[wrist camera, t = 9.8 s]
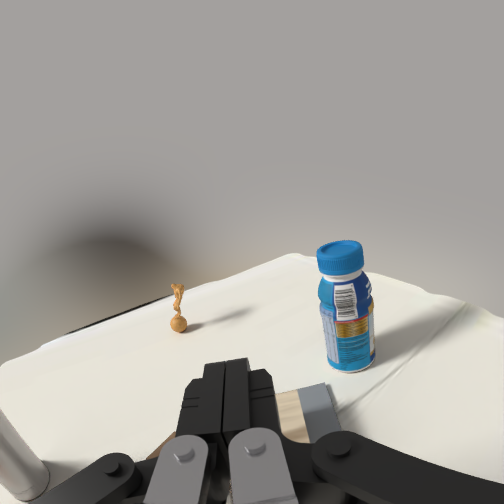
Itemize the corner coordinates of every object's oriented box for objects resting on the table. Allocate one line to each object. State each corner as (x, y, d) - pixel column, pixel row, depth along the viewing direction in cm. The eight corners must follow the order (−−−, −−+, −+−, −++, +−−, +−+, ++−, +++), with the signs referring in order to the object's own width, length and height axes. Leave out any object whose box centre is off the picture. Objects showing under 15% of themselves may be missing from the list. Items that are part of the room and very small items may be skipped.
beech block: (317, 473, 25) (297, 389, 39) (267, 482, 26) (259, 397, 39) (320, 493, 27) (302, 413, 40) (276, 502, 27) (267, 421, 40)
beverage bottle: (317, 364, 51) (297, 254, 46) (348, 339, 56) (334, 235, 50) (355, 381, 44) (343, 261, 39) (385, 352, 49) (378, 240, 43)
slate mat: (356, 475, 28) (356, 472, 28) (237, 498, 29) (236, 496, 29) (324, 385, 46) (324, 382, 45) (236, 404, 46) (235, 401, 46)
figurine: (172, 325, 78) (157, 282, 74) (195, 319, 79) (181, 275, 76) (174, 341, 70) (157, 294, 66) (199, 333, 71) (183, 286, 68)
